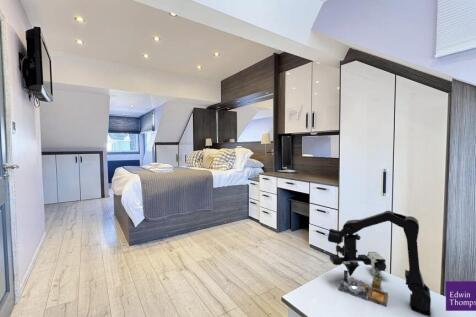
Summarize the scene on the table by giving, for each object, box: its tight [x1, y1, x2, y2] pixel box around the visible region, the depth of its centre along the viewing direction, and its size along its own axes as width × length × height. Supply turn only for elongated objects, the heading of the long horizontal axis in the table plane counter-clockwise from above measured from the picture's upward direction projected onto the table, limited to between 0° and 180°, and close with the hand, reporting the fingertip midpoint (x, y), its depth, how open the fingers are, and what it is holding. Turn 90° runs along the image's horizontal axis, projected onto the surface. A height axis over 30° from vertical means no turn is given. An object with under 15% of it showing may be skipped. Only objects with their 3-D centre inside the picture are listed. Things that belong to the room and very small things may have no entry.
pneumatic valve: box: [366, 251, 387, 277], centre depth 124 cm, size 6×12×12 cm, turn 174°
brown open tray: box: [366, 286, 389, 307], centre depth 105 cm, size 7×9×2 cm
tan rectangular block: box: [371, 276, 382, 291], centre depth 113 cm, size 4×5×4 cm
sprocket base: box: [337, 279, 370, 301], centre depth 112 cm, size 12×12×1 cm
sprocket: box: [339, 269, 369, 295], centre depth 112 cm, size 12×12×6 cm
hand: (350, 275), depth 115 cm, fingers closed
